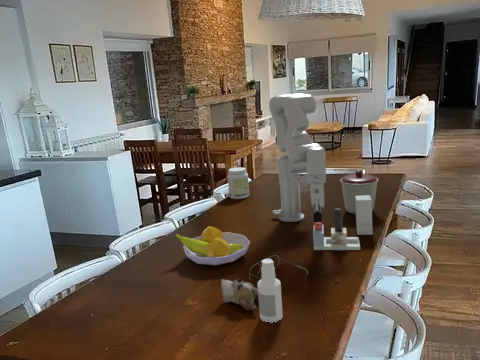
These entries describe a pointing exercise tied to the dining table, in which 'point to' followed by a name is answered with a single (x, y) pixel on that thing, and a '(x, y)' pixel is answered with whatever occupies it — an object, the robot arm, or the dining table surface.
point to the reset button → (318, 226)
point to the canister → (358, 188)
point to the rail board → (326, 244)
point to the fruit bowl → (215, 247)
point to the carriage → (338, 228)
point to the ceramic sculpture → (239, 293)
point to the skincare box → (364, 215)
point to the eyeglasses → (277, 264)
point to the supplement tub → (238, 183)
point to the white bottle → (269, 293)
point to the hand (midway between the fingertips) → (317, 221)
